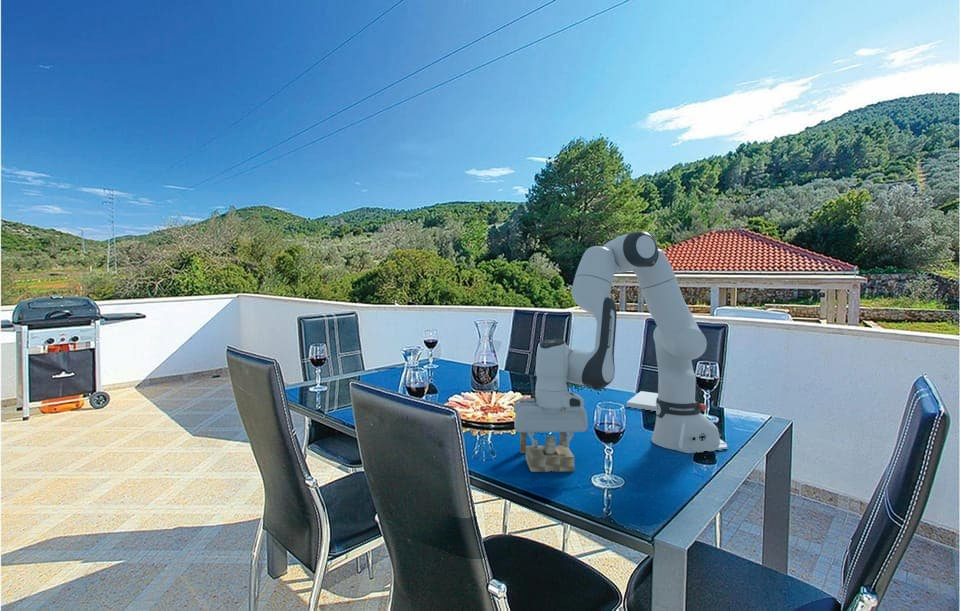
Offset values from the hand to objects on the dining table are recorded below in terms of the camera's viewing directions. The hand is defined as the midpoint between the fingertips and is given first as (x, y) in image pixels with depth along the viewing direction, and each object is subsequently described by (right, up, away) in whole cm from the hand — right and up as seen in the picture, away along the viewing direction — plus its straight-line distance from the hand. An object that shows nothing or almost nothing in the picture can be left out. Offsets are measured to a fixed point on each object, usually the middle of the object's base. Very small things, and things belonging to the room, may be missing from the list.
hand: (550, 446), depth 136 cm
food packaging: (+52, -3, +67) cm, 85 cm away
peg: (0, -5, +1) cm, 5 cm away
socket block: (0, -6, +1) cm, 6 cm away
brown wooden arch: (-1, -5, +9) cm, 11 cm away
